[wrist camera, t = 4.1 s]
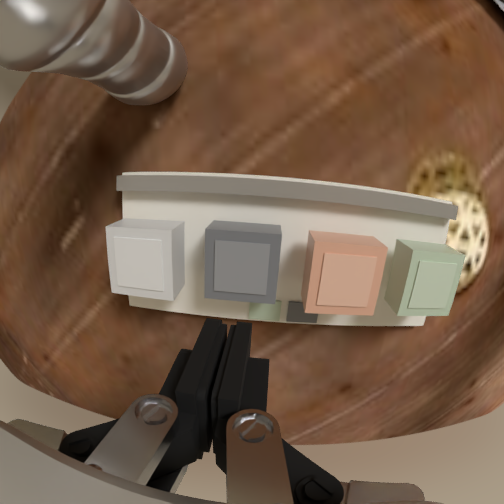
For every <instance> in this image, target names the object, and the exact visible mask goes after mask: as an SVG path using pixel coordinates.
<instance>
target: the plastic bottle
mask: <svg viewBox="0 0 504 504" xmlns="http://www.w3.org/2000/svg"><path fill="white" fill-rule="evenodd" d="M0 66H2V67H3V68H6V69H8V70H16V71H32V72H48V73H60V74H64V75H68V76H72V77H78V78H80V79H84V80H88V81H90V82H92V83H93V84H95V85H97V86H99V87H101V88H103V89H104V90H106V91H107V92H108V93H109V94H110V95H111V96H113V97H114V98H116V99H117V100H119V101H121V102H123V103H125V104H129V105H153V104H156V103H159V102H161V101H163V100H165V99H167V98H168V97H170V96H171V95H172V94H174V93H175V92H176V90H177V89H178V88H179V87H180V86H181V84H182V83H183V81H184V79H185V76H186V73H187V69H188V62H187V57H186V54H185V51H184V48H183V46H182V44H181V43H180V42H179V41H178V40H177V39H176V38H175V37H174V36H172V35H171V34H169V33H168V32H166V31H164V30H163V29H160V28H158V27H157V26H155V25H154V24H153V23H151V22H150V21H149V20H147V19H146V18H145V17H143V16H142V15H141V14H140V12H139V11H138V10H137V9H136V8H135V7H134V5H133V4H132V3H131V2H130V1H129V0H0Z"/></svg>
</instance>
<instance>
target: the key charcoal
mask: <svg viewBox="0 0 504 504" xmlns="http://www.w3.org/2000/svg"><path fill="white" fill-rule="evenodd" d="M281 241H282V231H281V225H273V224H260V223H247V222H232V221H217V220H213V221H212V223H211V224H210V225H209V226H208V227H207V228H206V229H205V275H204V298H209V299H219V300H229V301H240V302H252V303H265V304H275V301H276V291H277V282H278V272H279V262H280V251H281Z"/></svg>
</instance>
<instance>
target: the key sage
mask: <svg viewBox="0 0 504 504" xmlns="http://www.w3.org/2000/svg"><path fill="white" fill-rule="evenodd" d="M464 259H465V255H464V254H462V253H460V252H458V251H457V250H455V249H453V248H451V247H450V246H448V245H446V244H438V243H429V242H421V241H412V240H403V239H396V245H395V250H394V255H393V260H392V265H391V270H390V275H389V279H388V284H387V288H386V292H385V296H384V299H385V300H386V302H387V303H388V304H389V306H390V307H391V308H392V310H393V311H394V312H395V314H396V315H397V316H448V315H449V312H450V309H451V306H452V303H453V299H454V296H455V293H456V289H457V286H458V282H459V279H460V275H461V271H462V267H463V263H464Z"/></svg>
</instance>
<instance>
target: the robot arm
mask: <svg viewBox="0 0 504 504" xmlns="http://www.w3.org/2000/svg"><path fill="white" fill-rule="evenodd" d="M251 333H252V323H246V322H237V324H236V325H231V327H230V330H229V334H228V337H227V324H222V320H218V319H210V318H207V319H206V321H205V323H204V325H203V328H202V330H201V332H200V334H199V337H198V339H197V341H196V344H195V346H194V348H193V350H187V349H181V350H180V352H179V354H178V356H177V358H176V360H175V362H174V364H173V366H172V368H171V370H170V372H169V374H168V376H167V378H166V381H165V383H164V385H163V387H162V389H161V391H160V393H159V394H148V395H144V396H141V397H139V398H137V399H136V400H135V401H134V402H133V403H132V404H131V405H130V407H129V408H128V409H127V410H126V411H125V413H124V414H123V415H122V416H121V418H119V419H116V420H113V421H110V422H107V423H103V424H100V425H96V426H93V427H90V428H86V429H82V430H79V431H75V432H72V433H70V434H66V432H65V431H64V430H59V429H55V428H51V427H47V426H43V425H40V424H36V423H32V422H29V421H26V420H21V419H16V420H12V421H10V422H9V423H8V424H7V423H5V422H3V421H0V504H442V503H437V502H430V501H425V498H424V494H423V492H422V490H421V489H420V488H419V487H417V486H416V485H414V484H409V483H380V482H364V481H353V480H351V481H350V482H349V483H347V482H346V483H345V482H340V481H338V480H337V479H336V478H335V477H334V476H332V475H331V474H329V473H328V472H327V471H325V470H323V469H322V468H321V467H319V466H318V465H316V464H315V463H314V462H312V461H311V460H310V459H308V458H307V457H305V456H304V455H303V454H301V453H300V452H299V451H297V450H296V449H295V448H293V447H292V446H291V445H290V444H288V443H287V442H286V441H285V440H283V439H282V438H281V433H280V427H279V424H278V422H277V420H276V419H275V418H274V417H273V416H272V415H270V414H269V413H267V412H266V407H267V392H268V375H269V359H261V358H250V346H251ZM212 439H213V453H215V454H216V464H217V466H218V467H219V468H220V469H221V470H222V471H223V472H224V473H225V474H226V486H227V503H221V502H215V501H208V500H203V499H198V498H192V497H188V496H183V495H178V494H175V492H176V490H177V488H178V486H179V484H180V482H181V481H182V479H183V477H184V475H185V473H186V471H187V467H188V464H190V463H193V462H195V461H196V460H197V459H202V456H203V452H209V451H210V447H211V443H212Z"/></svg>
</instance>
